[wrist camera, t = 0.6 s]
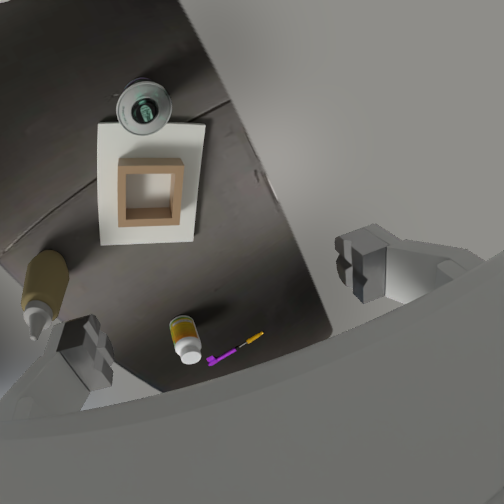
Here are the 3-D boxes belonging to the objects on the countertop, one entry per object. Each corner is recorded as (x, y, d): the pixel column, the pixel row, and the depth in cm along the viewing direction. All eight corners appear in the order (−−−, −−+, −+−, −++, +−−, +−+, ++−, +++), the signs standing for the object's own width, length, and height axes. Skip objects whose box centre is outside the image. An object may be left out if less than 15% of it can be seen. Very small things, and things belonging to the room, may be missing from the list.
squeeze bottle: (60, 288, 51) (49, 363, 37) (24, 268, 47) (2, 342, 33) (79, 257, 50) (69, 332, 36) (41, 235, 45) (16, 306, 31)
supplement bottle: (164, 321, 64) (172, 356, 57) (187, 310, 65) (198, 345, 57) (176, 335, 68) (185, 370, 60) (197, 325, 68) (209, 359, 61)
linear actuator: (209, 364, 77) (263, 332, 77) (210, 367, 76) (264, 335, 76) (203, 358, 76) (258, 325, 76) (204, 361, 75) (259, 328, 75)
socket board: (99, 122, 40) (95, 128, 36) (203, 123, 46) (211, 130, 42) (101, 240, 50) (99, 258, 46) (191, 237, 56) (197, 253, 52)
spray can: (139, 70, 38) (142, 70, 22) (167, 91, 41) (189, 107, 26) (114, 99, 39) (102, 120, 24) (142, 120, 42) (149, 154, 27)
